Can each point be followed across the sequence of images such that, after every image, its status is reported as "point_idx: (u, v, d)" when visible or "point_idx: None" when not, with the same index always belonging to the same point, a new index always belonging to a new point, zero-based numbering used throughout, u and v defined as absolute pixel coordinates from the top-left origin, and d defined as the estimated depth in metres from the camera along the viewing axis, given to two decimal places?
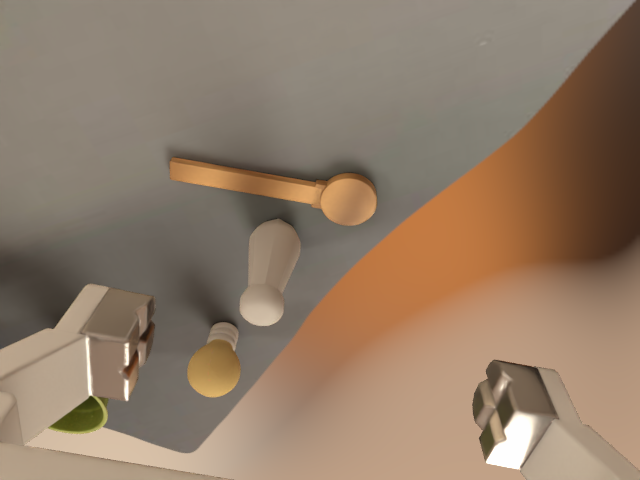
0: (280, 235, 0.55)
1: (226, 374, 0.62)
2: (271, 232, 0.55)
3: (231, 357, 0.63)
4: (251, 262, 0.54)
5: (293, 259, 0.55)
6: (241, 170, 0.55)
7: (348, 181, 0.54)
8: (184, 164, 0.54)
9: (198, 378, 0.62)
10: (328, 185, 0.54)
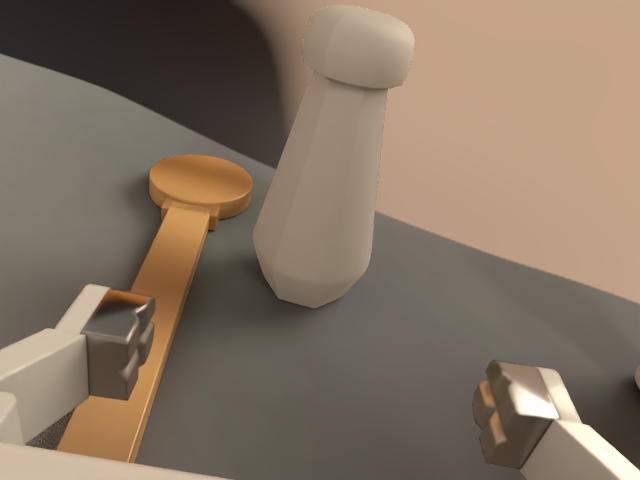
0: None
1: None
2: (261, 220, 0.24)
3: None
4: (314, 182, 0.21)
5: None
6: None
7: (156, 172, 0.30)
8: (68, 424, 0.16)
9: None
10: (164, 192, 0.29)
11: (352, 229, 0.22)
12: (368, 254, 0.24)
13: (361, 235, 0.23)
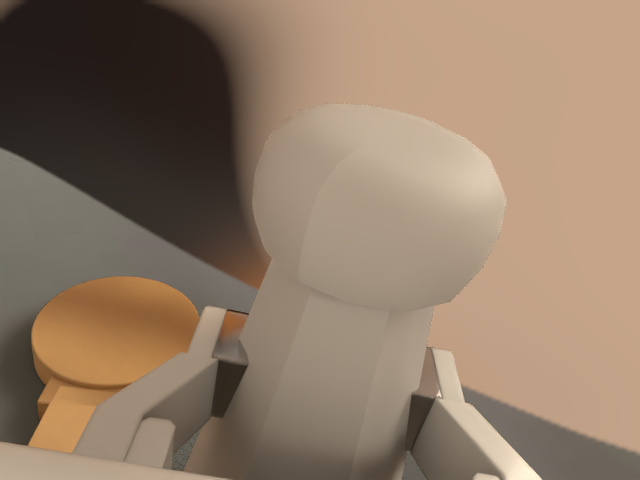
0: None
1: None
2: None
3: None
4: (283, 464, 0.10)
5: None
6: None
7: (44, 323, 0.19)
8: None
9: None
10: (48, 367, 0.18)
11: None
12: None
13: None
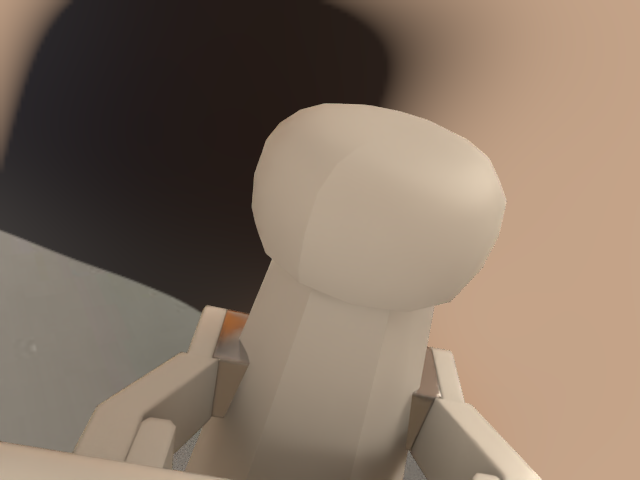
0: None
1: None
2: None
3: None
4: (284, 464, 0.10)
5: None
6: None
7: None
8: None
9: None
10: None
11: None
12: None
13: None
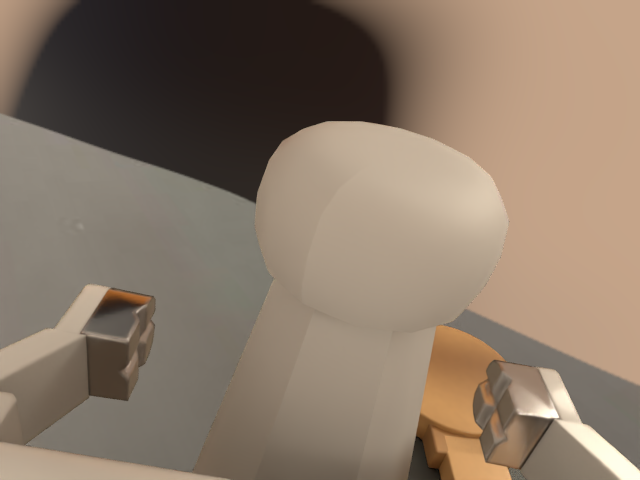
0: None
1: None
2: None
3: None
4: None
5: None
6: None
7: None
8: None
9: None
10: (426, 417, 0.19)
11: None
12: None
13: None
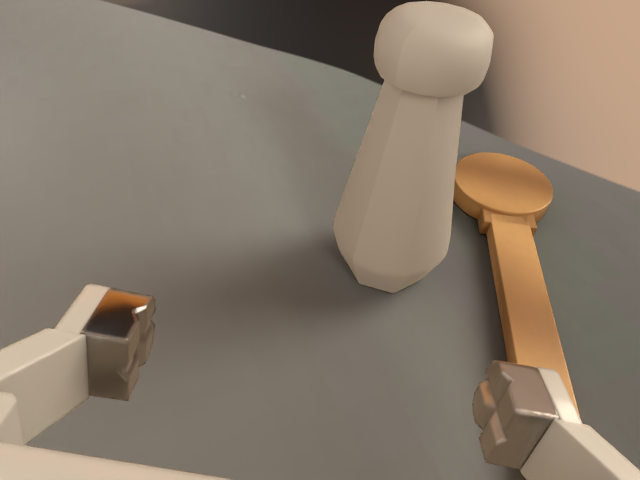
0: None
1: None
2: (340, 213, 0.25)
3: None
4: (389, 185, 0.22)
5: None
6: (507, 345, 0.24)
7: (461, 180, 0.31)
8: None
9: None
10: (479, 203, 0.30)
11: (428, 226, 0.23)
12: (446, 244, 0.24)
13: (438, 230, 0.23)
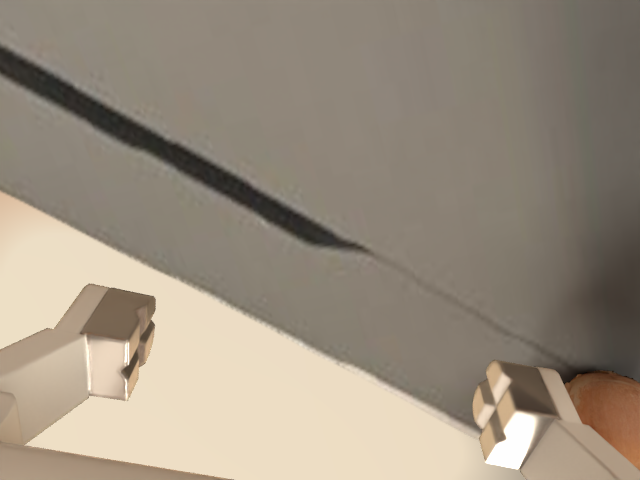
0: None
1: None
2: None
3: None
4: None
5: None
6: None
7: None
8: None
9: None
10: None
11: None
12: None
13: None
